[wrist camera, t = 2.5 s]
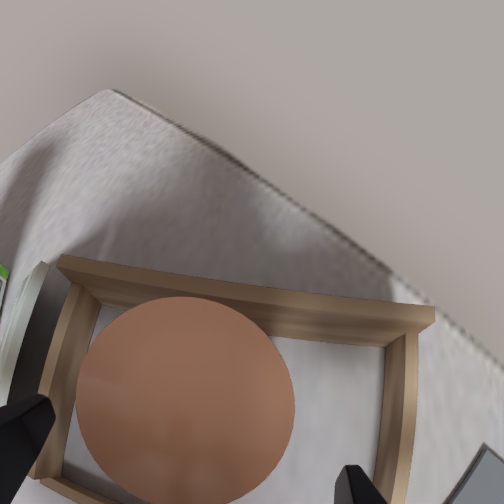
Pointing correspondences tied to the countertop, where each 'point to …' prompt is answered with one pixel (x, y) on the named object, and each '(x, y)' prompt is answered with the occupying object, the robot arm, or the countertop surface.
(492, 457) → the slate tile
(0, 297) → the syrup box
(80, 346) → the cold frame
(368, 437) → the countertop surface
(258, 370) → the peach domed cylinder
